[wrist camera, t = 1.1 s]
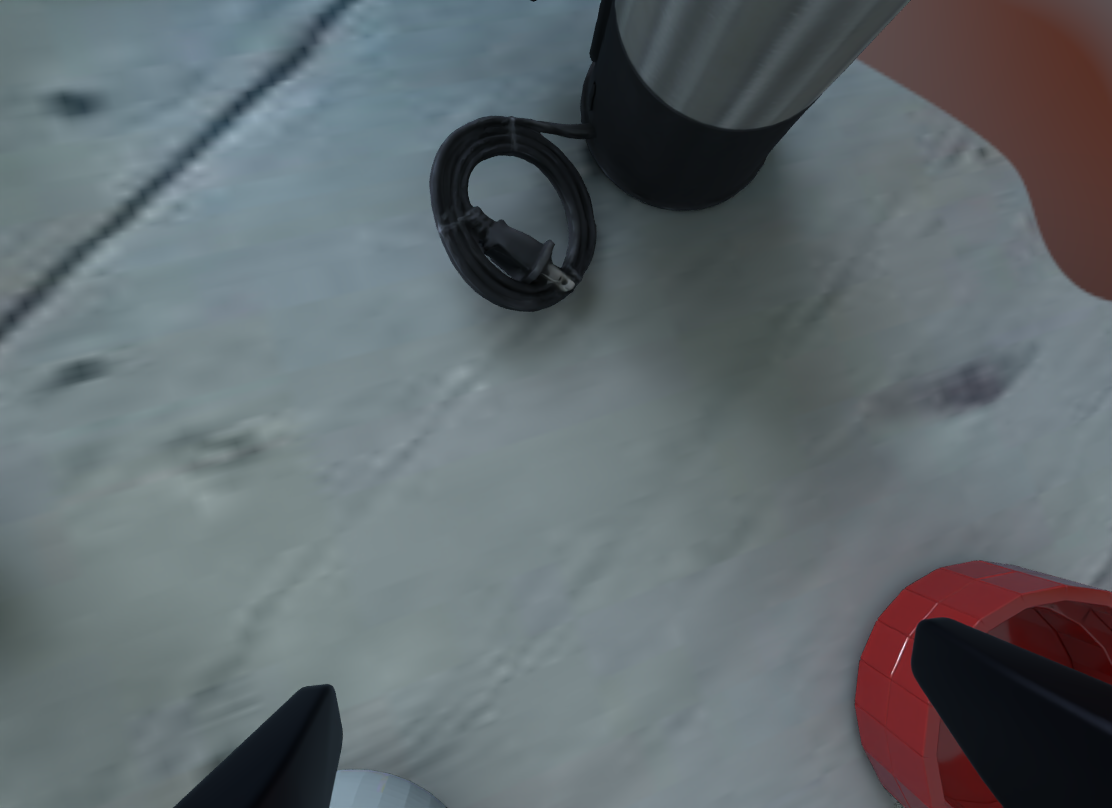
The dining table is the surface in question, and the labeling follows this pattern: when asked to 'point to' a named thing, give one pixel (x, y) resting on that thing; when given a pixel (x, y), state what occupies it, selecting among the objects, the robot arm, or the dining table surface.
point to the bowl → (994, 608)
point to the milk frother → (652, 124)
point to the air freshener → (378, 791)
